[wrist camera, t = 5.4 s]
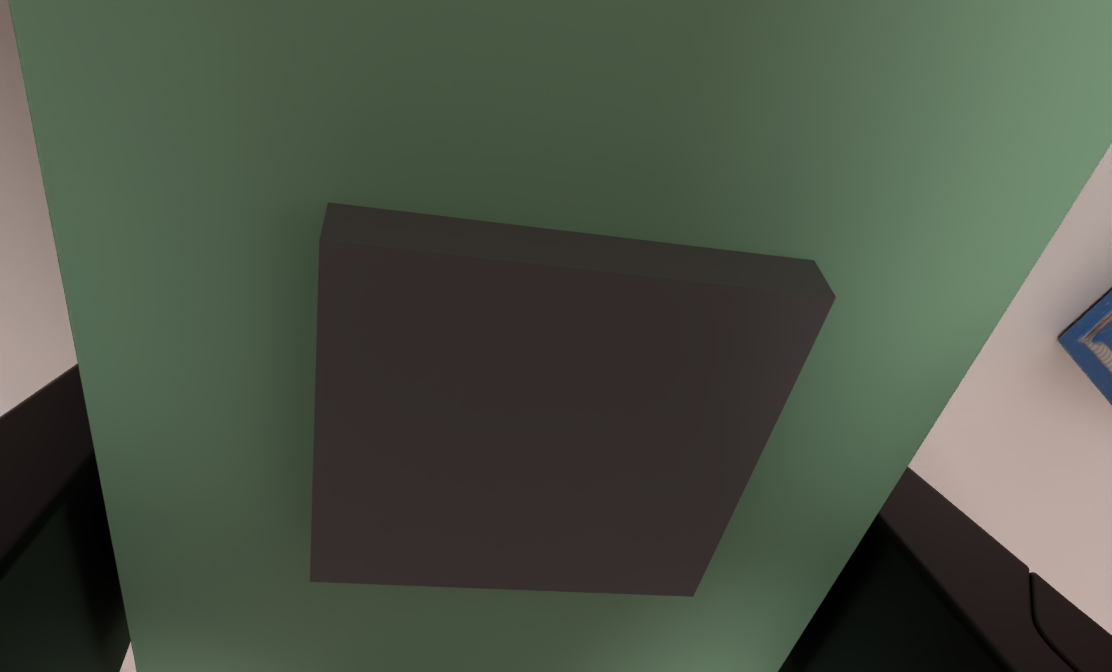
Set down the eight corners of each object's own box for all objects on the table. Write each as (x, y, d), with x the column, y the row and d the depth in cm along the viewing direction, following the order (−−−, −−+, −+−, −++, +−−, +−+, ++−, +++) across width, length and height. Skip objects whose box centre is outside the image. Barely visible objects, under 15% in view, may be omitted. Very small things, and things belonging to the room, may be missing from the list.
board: (612, 606, 15) (660, 901, 11) (241, 592, 13) (167, 916, 10) (932, -223, 7) (1348, -112, 4) (190, -400, 6) (-136, -464, 3)
